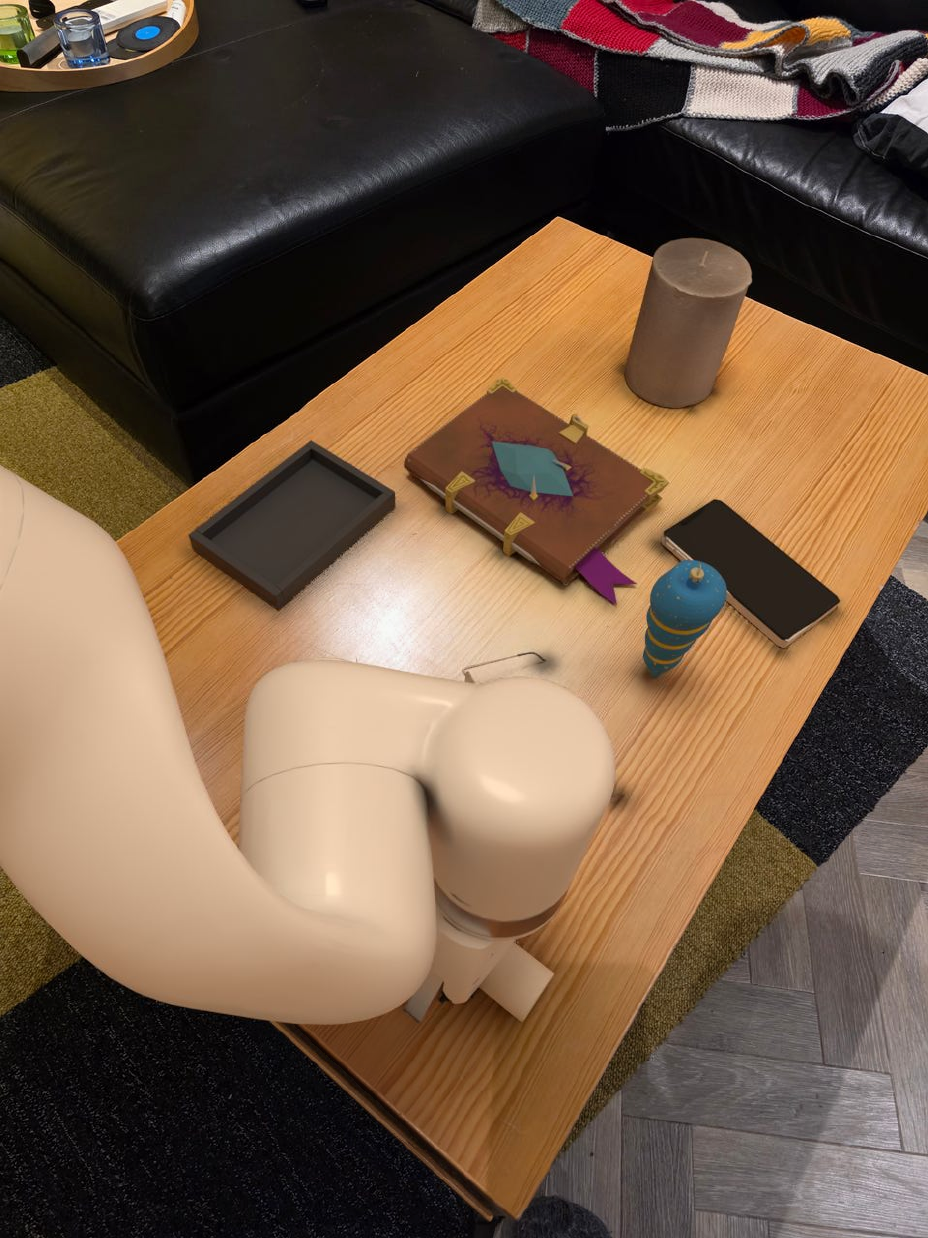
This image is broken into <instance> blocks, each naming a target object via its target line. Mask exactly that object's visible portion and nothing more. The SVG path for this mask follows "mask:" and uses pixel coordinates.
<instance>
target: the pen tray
mask: <svg viewBox="0 0 928 1238" xmlns="http://www.w3.org/2000/svg"><path fill="white" fill-rule="evenodd" d="M395 508H396V491H394V489H391V488H390V487H389V486H387V485H385V484H383V483H381V482H380V481H378V480H377V479H375V478H373V477H372V476H370V475H368V474H367V473H366V472H364V471H362V470H361V469H359V468H357V467H356V466H354V465H352V464H351V463H349V462H347V461H346V460H345V459H343V458H341V457H339V456H338V455H336V454H334V453H333V452H331V451H330V450H328V449H327V448H325V447H323V446H321V445H320V444H318V443H317V442H315V441H313V440H312V439H311V440H309V441H308V442H306V443H305V444H304V445H303V446H301V447H300V448H298V449H297V450H296V451H295V452H293V453H292V454H291V455H290V456H288V457H287V458H286V459H284V460H283V461H282V462H281V463H279V464H278V465H276V466H275V467H274V468H273V469H272V470H270V471H269V472H268V473H267V474H265V475H264V476H262V477H261V478H260V479H259V480H257V481H256V482H255V483H254V484H252V485H250V487H248V488H247V489H246V490H244V491H243V492H241V493H240V494H239V495H238V496H237V497H235V498H234V499H232V500H231V501H230V502H229V503H227V504H226V505H225V506H224V507H222V508H220V510H218V511H216V513H214V514H213V515H212V516H210V517H209V518H207V520H206V521H204V522H203V523H201V524H200V525H199V526H198V527H196V528H195V529H194V530H192V531H191V532H190V533H188V538H189V541H190V544H191V547H192V548H191V549H192V550H193V551H194V552H195V553H197V554H198V555H200V556H201V557H203V558H204V559H205V560H207V561H208V562H210V563H211V564H212V565H214V566H215V567H217V568H218V569H219V570H221V571H222V572H224V573H225V574H226V575H228V576H229V577H230V578H232V579H234V580H235V581H236V582H238V583H239V584H240V585H242V586H243V587H245V588H246V589H248V590H249V591H250V592H252V593H253V594H254V595H256V596H258V597H259V598H260V599H262V600H263V601H264V602H266V603H267V604H268V605H270V606H271V607H273V608H274V609H276V610H277V611H280V610H281V609H283V607H285V605H287V604H288V603H289V602H290V601H291V600H292V599H293V598H294V597H295V596H297V595H298V594H299V593H301V591H302V590H303V589H305V588H306V587H307V586H308V585H309V584H310V583H311V582H313V581H314V580H315V579H316V578H317V577H319V576H320V574H322V573H323V572H324V571H325V570H326V569H327V568H328V567H329V566H331V565H332V564H333V563H334V562H335V561H336V560H338V559H339V558H340V557H341V556H342V555H343V554H345V552H346V551H348V550H349V549H350V548H351V547H352V546H354V544H355V543H357V542H358V541H359V540H360V539H361V538H362V537H364V535H366V534H367V533H368V532H369V531H370V530H372V529H373V528H374V527H375V526H376V525H377V524H378V523H379V522H380V521H381V520H383V519H384V518H385V517H386V516H387V515H388V514H389V513H391V512H392V511H393V510H394V509H395Z"/></svg>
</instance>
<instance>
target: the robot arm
mask: <svg viewBox="0 0 928 1238" xmlns="http://www.w3.org/2000/svg"><path fill="white" fill-rule="evenodd" d="M171 677H172V676H171V674H170V671H169V667H168V663H167V660H166V657H165V654H164V650H163V648H162V645H161V642H160V638H159V636H158V632H157V628H156V627H155V624H154V621H153V618H152V615H151V613H150V611H149V608H148V605H147V602H146V599H145V598H144V594H143V592H142V589H141V587H140V584H139V582H138V580H137V577H136V575H135V572H134V571H133V568H132V566H131V564H130V563H129V562H128V559H127V557H126V556H125V554H124V552H123V550H122V549H121V548H120V546H119V545H118V544H117V542H116V541H115V539H114V538H113V537H112V536H111V535H110V534H109V533H108V532H107V531H106V530H105V529H104V528H102V527H101V526H100V525H99V524H98V523H96V522H95V521H94V520H92V519H91V518H89V517H88V516H86V515H85V514H82V513H81V512H79V511H77V510H76V509H74V508H73V507H71V506H69V505H67V504H65V503H64V502H62V501H60V500H59V499H57V498H55V497H53V496H52V495H50V494H48V493H47V492H45V490H42V489H41V488H39V487H37V486H35V485H34V484H32V483H31V482H29V481H28V480H26V479H24V478H23V477H22V476H19V475H18V474H17V473H15V472H13V471H11V470H9V469H7V468H5V467H4V466H3V465H1V464H0V868H1V869H2V870H3V872H4V873H5V874H6V875H7V877H8V878H9V880H10V882H12V884H13V885H14V887H16V889H17V890H18V891H19V893H20V894H21V895H22V896H23V897H24V898H25V900H26V901H27V902H28V903H29V904H30V905H31V907H32V908H33V909H34V910H35V911H36V912H37V913H38V914H39V915H40V916H41V917H42V919H44V921H45V922H46V923H47V924H48V925H49V926H50V927H51V928H52V929H53V930H54V931H55V932H56V933H58V935H59V936H60V937H61V938H62V939H63V940H64V941H65V942H67V943H68V944H69V945H70V946H71V947H72V948H73V949H74V950H75V951H76V952H78V954H79V955H81V956H82V958H84V959H85V960H87V961H88V962H89V963H90V964H92V965H93V966H94V967H95V968H96V969H98V970H99V971H100V972H103V973H104V974H105V975H106V976H108V977H109V978H110V979H111V980H114V981H115V982H117V983H119V984H121V985H122V986H124V987H126V988H128V989H129V990H131V991H133V992H135V993H137V994H140V995H142V996H144V997H147V998H150V999H152V1000H155V1001H158V1002H161V1003H164V1004H165V1003H166V1004H169V1005H173V1006H177V1007H183V1008H187V1009H192V1010H199V1011H205V1012H206V1011H207V1012H213V1013H216V1014H217V1013H218V1014H224V1015H230V1016H236V1017H242V1018H243V1017H244V1018H248V1019H255V1020H262V1021H269V1022H276V1023H277V1022H278V1023H284V1024H293V1025H325V1026H330V1025H331V1026H333V1025H345V1024H351V1023H357V1022H362V1021H367V1020H370V1019H373V1018H377V1017H381V1016H383V1015H384V1014H387V1013H389V1012H391V1011H393V1010H395V1009H397V1008H399V1007H400V1006H401V1005H403V1004H406V1005H405V1006H404V1008H403V1011H404V1013H406V1014H407V1015H408V1016H409V1017H410V1018H411V1019H413V1020H414V1021H415V1022H416V1023H417V1024H418V1025H421V1024H422V1023H423V1022H424V1021H425V1019H427V1017H429V1015H430V1014H431V1012H432V1011H433V1010H434V1009H435V1008H436V1007H437V1004H438V1003H440V1004H442V1005H443V1004H444V1003H445V1002H449V1001H451V1002H452V1004H454V1005H458V1004H463V1003H466V1002H467V1001H468V1000H469V999H471V1000H472V999H474V997H475V996H476V995H477V993H478V991H479V985H480V984H481V983H482V982H483V980H484V979H485V978H486V977H487V975H488V974H489V973H490V972H491V970H492V969H493V968H494V967H495V965H496V964H497V963H498V962H499V960H500V959H501V958H502V957H503V955H504V954H505V953H506V951H507V950H508V949H509V947H510V946H511V945H512V943H513V942H515V941H516V940H518V939H521V938H525V937H528V936H531V935H532V934H534V933H535V932H538V931H539V930H541V929H542V928H543V927H545V926H546V925H547V924H548V923H549V922H550V921H551V920H552V919H553V918H554V917H555V916H556V915H557V913H558V911H559V910H560V909H561V907H562V906H563V903H564V901H565V898H566V896H567V893H568V892H569V890H570V888H571V886H572V884H573V881H574V880H575V877H576V875H577V874H578V871H579V869H580V867H581V865H582V862H583V861H584V858H585V856H586V854H587V851H588V850H589V847H590V845H591V843H592V841H593V839H594V837H595V835H596V832H597V830H598V828H599V827H600V824H601V822H602V821H603V818H604V816H605V814H606V812H607V809H608V807H609V804H610V802H611V799H612V798H611V796H612V795H613V792H614V788H615V785H616V784H615V783H616V776H617V775H616V773H617V765H616V756H615V751H614V747H613V742H612V739H611V738H610V734H609V733H608V730H607V727H606V726H605V724H604V722H603V721H602V719H601V718H600V716H599V715H598V714H597V712H596V711H595V710H594V709H593V708H592V707H591V706H590V705H589V703H588V702H587V701H586V700H584V699H583V698H582V697H580V696H579V695H577V694H576V692H574V691H572V690H570V689H569V688H566V687H565V686H563V685H561V684H559V683H556V682H553V681H551V680H548V679H544V678H539V677H534V676H523V675H522V676H520V675H515V676H506V677H505V676H504V677H499V678H496V679H492V680H488V681H485V682H482V683H476V682H475V683H469V682H464V681H463V680H456V679H451V678H450V679H449V678H443V677H435V676H430V675H425V674H420V673H415V672H410V671H405V670H399V669H393V668H389V667H383V666H378V665H373V664H367V663H361V662H355V661H351V660H347V659H344V658H338V657H316V658H315V657H314V658H309V659H305V660H304V659H302V660H296V661H292V662H287V663H284V664H281V665H279V666H277V667H275V668H273V669H271V670H269V671H268V672H266V673H264V675H263V676H262V677H261V678H260V679H259V680H258V681H256V683H255V685H254V686H253V687H252V689H251V692H250V694H249V696H248V698H247V701H246V705H245V713H244V718H243V730H242V750H241V751H242V752H241V773H240V793H239V809H238V811H239V813H238V814H239V815H238V836H237V837H238V838H237V844H236V843H235V842H234V840H233V839H232V837H231V835H230V834H229V832H228V831H227V829H226V827H225V825H224V823H223V822H222V820H221V818H220V816H219V814H218V812H217V809H216V808H215V806H214V803H213V802H212V799H211V797H210V795H209V793H208V790H207V788H206V786H205V783H204V781H203V779H202V776H201V773H200V770H199V768H198V765H197V762H196V759H195V756H194V753H193V751H192V750H193V749H192V748H191V745H190V741H189V737H188V733H187V730H186V727H185V724H184V720H183V716H182V713H181V709H180V705H179V702H178V698H177V695H176V691H175V688H174V685H173V681H172V678H171Z"/></svg>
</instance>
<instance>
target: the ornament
mask: <svg viewBox="0 0 928 1238" xmlns="http://www.w3.org/2000/svg"><path fill="white" fill-rule="evenodd" d="M726 595H727V589H726V584H725V581H724V579H723V578H722V576H721V575H720V574H719V572H718V571H717V570H716V569H714V568H713V567H712V566H710V565H708V564H706V563H703V562H700V561H696V560H683V561H681V560H680V561H679V562H678V563H677V564H675V565H674V566H673V567H671V569H669V570H668V571H667V572H665V573H664V574H662V575H661V576H660V577H659V578H657V580H656V581H655V583H654V584H653V586H652V587H651V591H650V593H649V604H650V605H649V607H648V608H647V611H646V625H647V628H646V630H645V633H644V644H645V647H644V649H643V652H642V659H643V663H644V665H645V667H646V669H647V672H648V674H649V676H650V677H651V678H653V679H657V678H659V677H661V676H662V675H664V674H666V673H667V672H670V671H671V670H673V669H674V668H676V667H677V666H678V665H679V664H680V663H681V661H682V660H683V659H684V656H685V654H686V653H688V652H689V651H690V650H692V648H693V647H694V645H695V644H696V642H697V640H698V639H699V638H700V637H702V636H703V635H704V634H705V633H706V632H707V630H708V629H709V628H710V627H711V624H712V623H713V620H714V619H715V618H716V617H718V615H720V613H721V611H722V610H723V608H724V606H725V605H726V602H727V601H726Z"/></svg>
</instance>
